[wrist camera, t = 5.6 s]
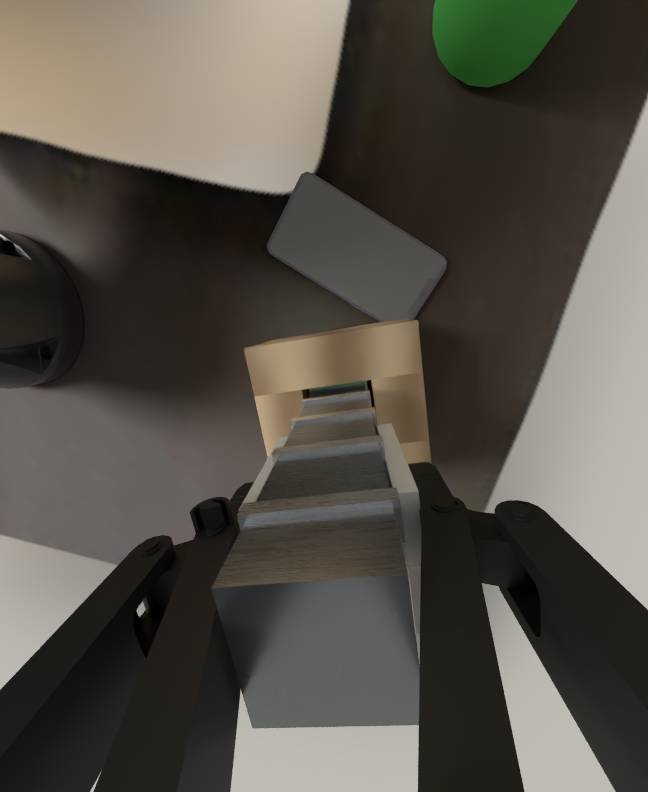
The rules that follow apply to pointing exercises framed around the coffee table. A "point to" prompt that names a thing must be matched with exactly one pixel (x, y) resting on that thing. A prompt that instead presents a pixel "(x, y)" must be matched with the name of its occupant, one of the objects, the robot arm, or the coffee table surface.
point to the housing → (345, 378)
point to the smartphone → (354, 252)
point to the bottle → (494, 36)
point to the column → (323, 578)
